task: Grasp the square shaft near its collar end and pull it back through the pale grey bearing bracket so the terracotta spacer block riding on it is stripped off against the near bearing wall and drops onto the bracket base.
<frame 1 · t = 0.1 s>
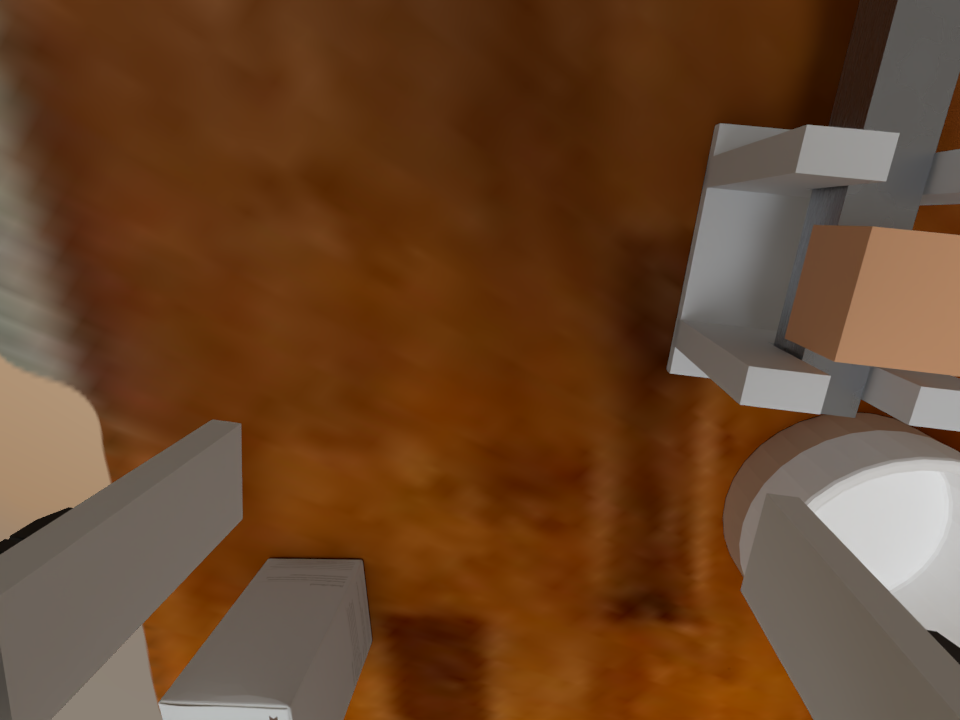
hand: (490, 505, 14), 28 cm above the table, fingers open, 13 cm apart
bracket: (776, 264, 38), on the table
supplement box: (321, 598, 49), on the table
shaft: (864, 191, 29), point 8 cm above the table, slide at 0.0 cm, touching spacer
bowl: (834, 512, 43), on the table
spacer: (857, 289, 28), point 10 cm above the table, touching shaft
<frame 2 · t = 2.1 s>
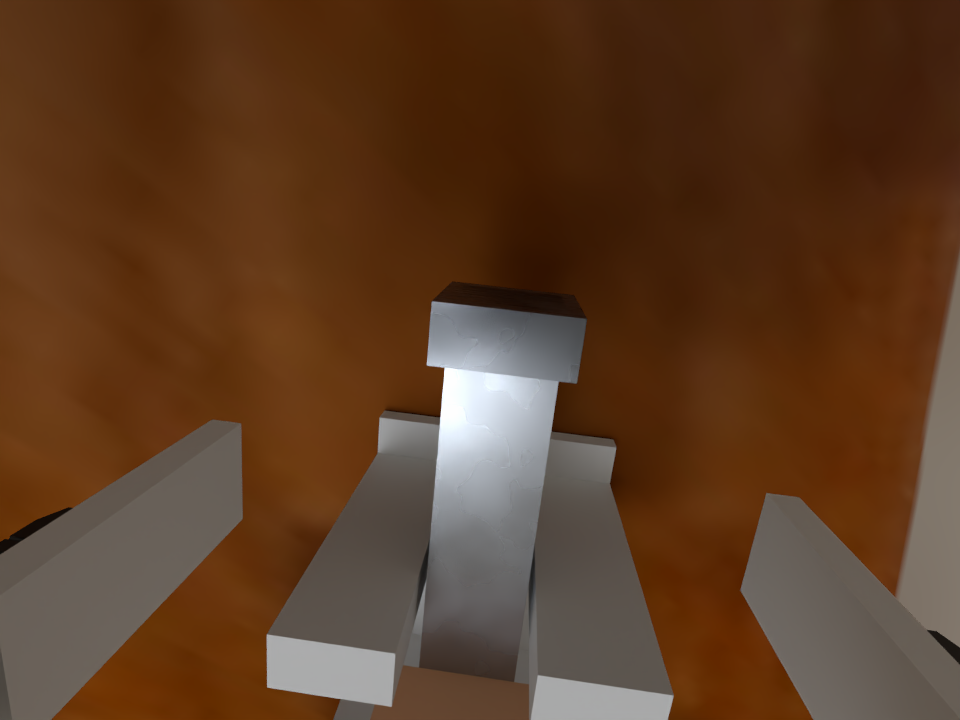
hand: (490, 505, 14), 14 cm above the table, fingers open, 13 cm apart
bracket: (481, 564, 31), on the table
shaft: (475, 597, 21), point 8 cm above the table, slide at 0.0 cm, touching spacer
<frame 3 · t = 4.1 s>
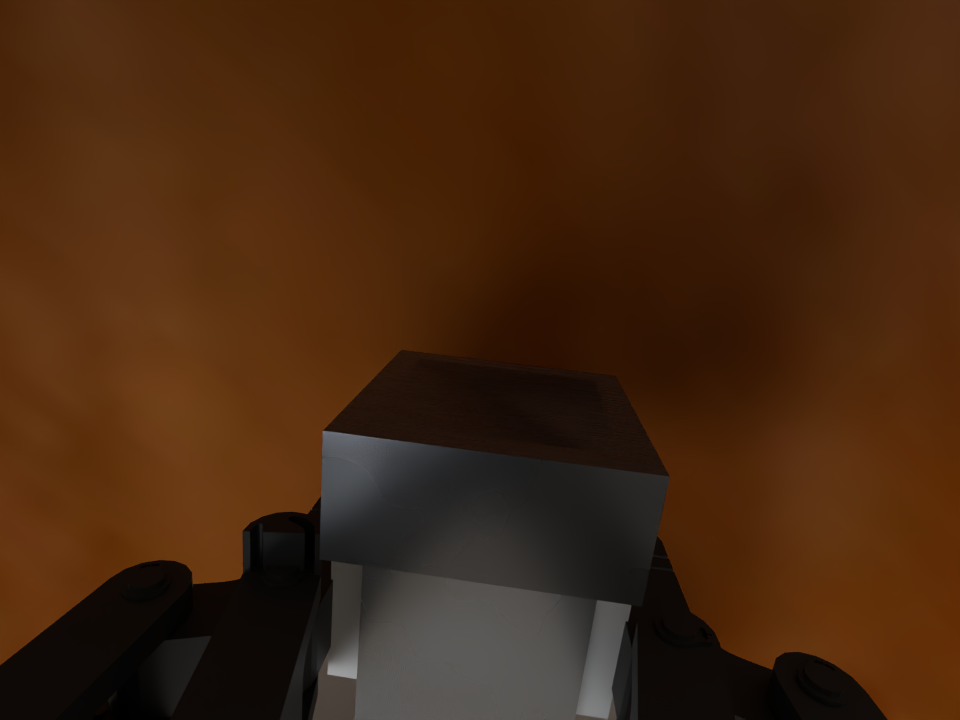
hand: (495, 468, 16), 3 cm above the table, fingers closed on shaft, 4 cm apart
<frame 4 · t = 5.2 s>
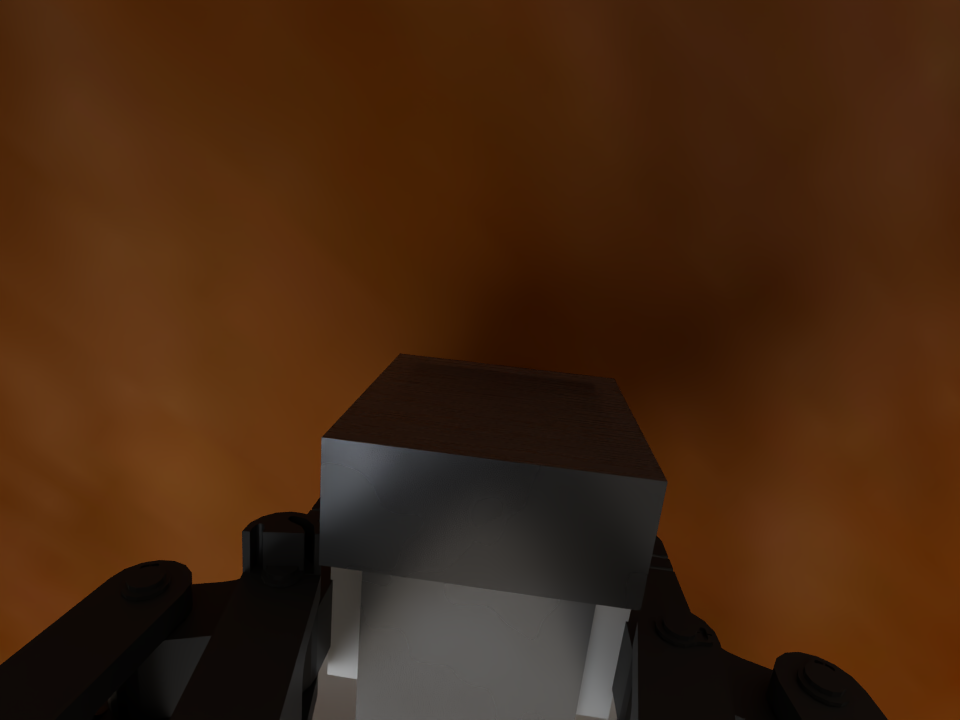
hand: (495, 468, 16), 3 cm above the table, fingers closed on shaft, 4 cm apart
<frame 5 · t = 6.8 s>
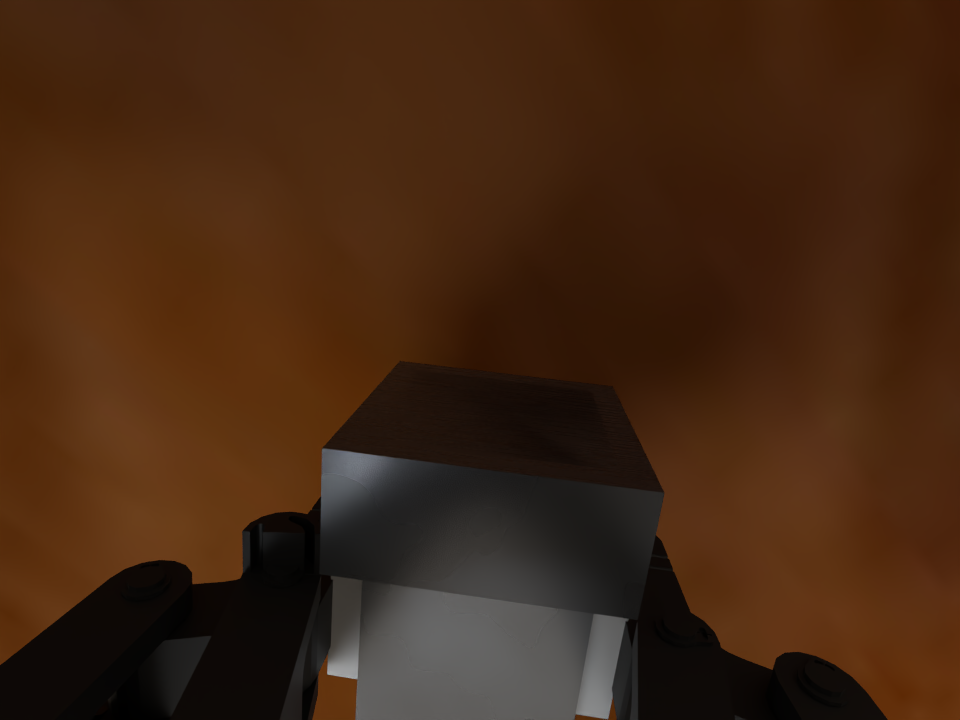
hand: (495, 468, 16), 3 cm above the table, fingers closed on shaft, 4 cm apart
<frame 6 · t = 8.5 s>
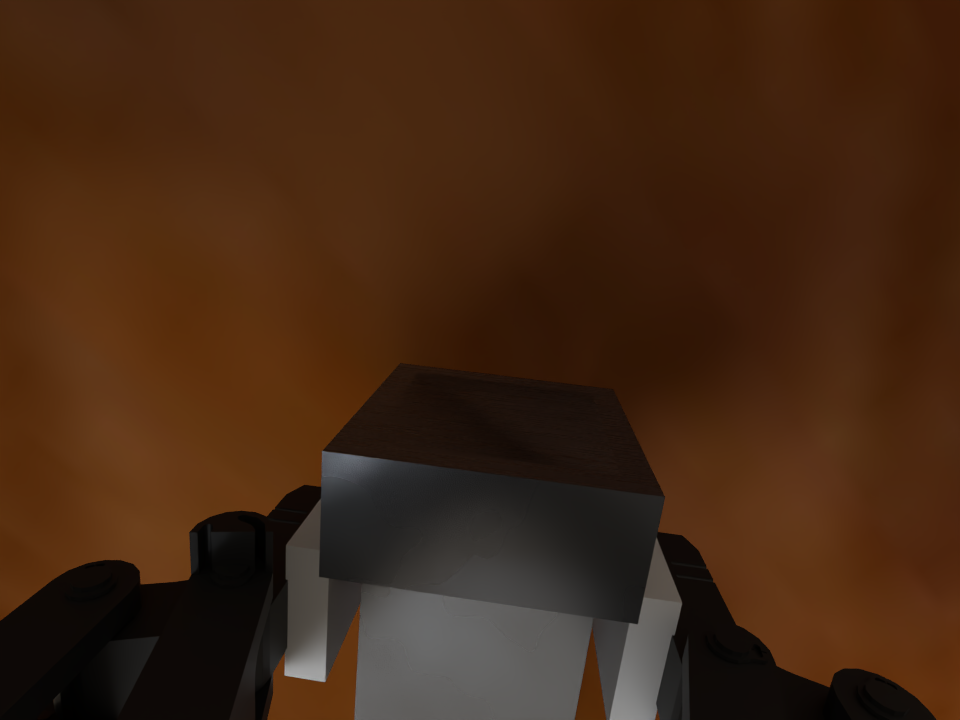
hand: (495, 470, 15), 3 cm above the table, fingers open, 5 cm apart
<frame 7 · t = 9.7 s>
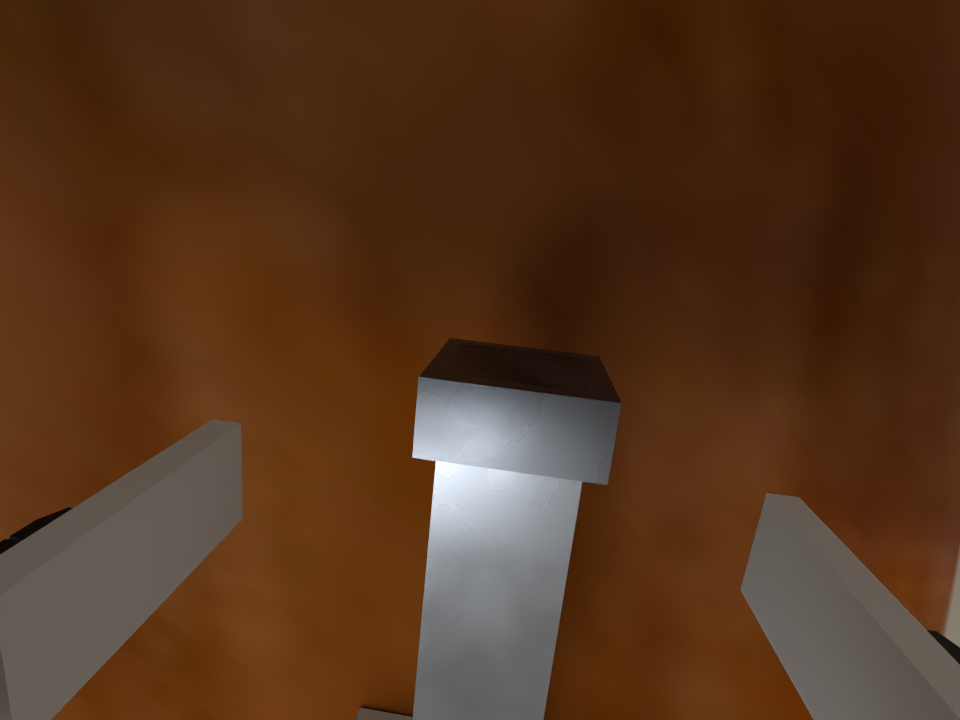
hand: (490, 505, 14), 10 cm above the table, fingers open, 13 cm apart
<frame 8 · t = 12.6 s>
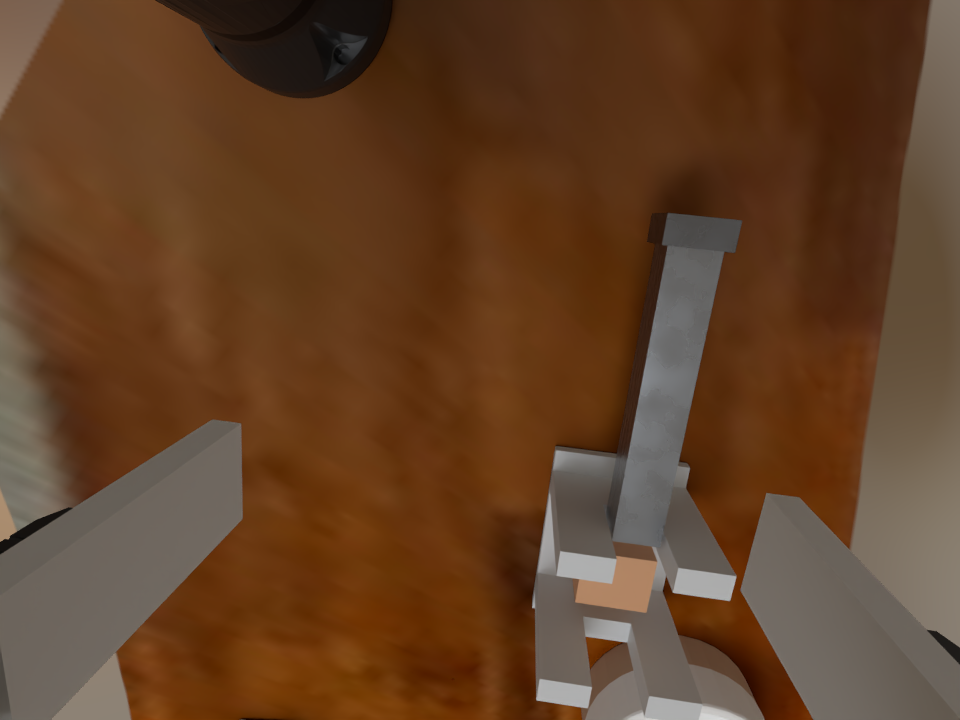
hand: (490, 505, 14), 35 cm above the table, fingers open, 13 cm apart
bracket: (605, 535, 52), on the table
shaft: (660, 386, 39), point 8 cm above the table, slide at 13.2 cm
bowl: (663, 700, 57), on the table
spacer: (615, 535, 47), point 4 cm above the table, tilted 90°, touching bracket
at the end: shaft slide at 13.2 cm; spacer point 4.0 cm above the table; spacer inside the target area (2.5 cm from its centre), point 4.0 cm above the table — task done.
